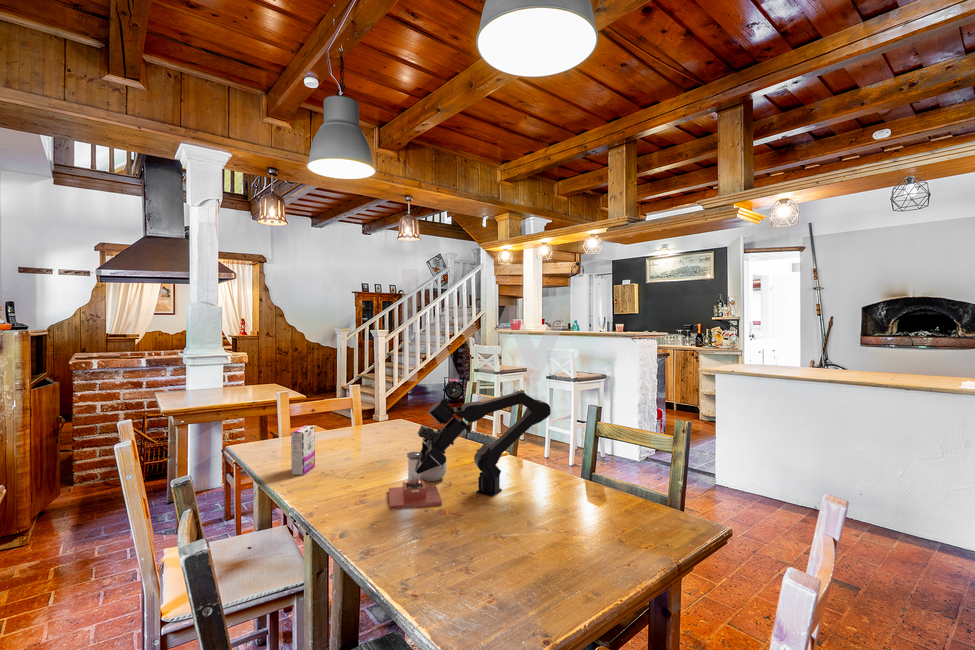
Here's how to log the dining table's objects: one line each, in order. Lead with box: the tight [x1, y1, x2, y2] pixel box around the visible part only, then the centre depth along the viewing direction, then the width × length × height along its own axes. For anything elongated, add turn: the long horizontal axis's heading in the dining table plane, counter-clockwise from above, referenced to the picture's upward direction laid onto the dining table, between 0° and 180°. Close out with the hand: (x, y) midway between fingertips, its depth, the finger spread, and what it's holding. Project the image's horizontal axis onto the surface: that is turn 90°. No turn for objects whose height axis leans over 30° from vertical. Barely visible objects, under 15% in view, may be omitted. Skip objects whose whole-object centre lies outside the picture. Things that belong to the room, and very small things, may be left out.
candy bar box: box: [290, 425, 316, 476], centre depth 176 cm, size 11×5×16 cm, turn 179°
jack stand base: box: [388, 480, 443, 511], centre depth 148 cm, size 16×16×4 cm
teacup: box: [421, 456, 447, 482], centre depth 169 cm, size 14×11×8 cm
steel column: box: [406, 451, 422, 488], centre depth 149 cm, size 5×5×13 cm
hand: (415, 468), depth 149 cm, fingers open, 9 cm apart
